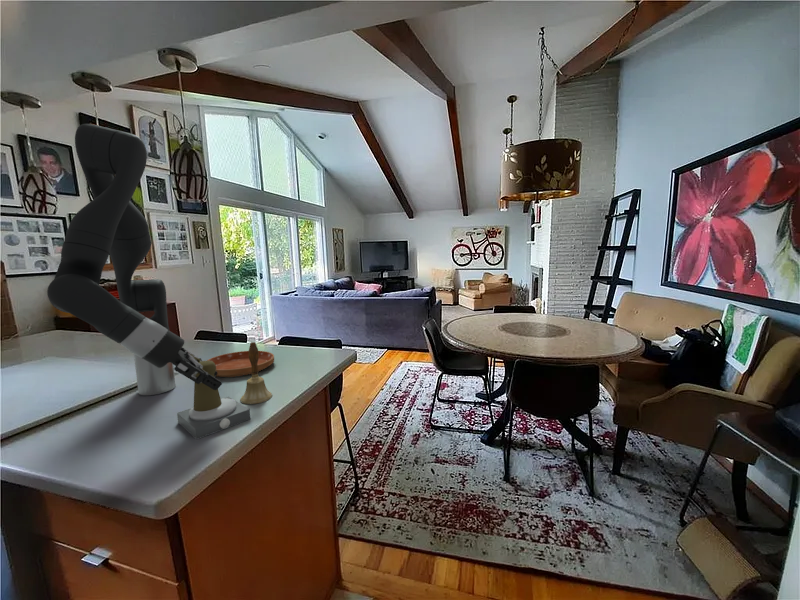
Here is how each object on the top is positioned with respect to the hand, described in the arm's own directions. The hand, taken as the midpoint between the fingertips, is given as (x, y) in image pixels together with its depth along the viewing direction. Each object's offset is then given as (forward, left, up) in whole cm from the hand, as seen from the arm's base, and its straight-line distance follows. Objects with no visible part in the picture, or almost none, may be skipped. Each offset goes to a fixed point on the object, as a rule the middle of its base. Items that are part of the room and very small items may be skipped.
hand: (217, 381), depth 83 cm
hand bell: (-5, +12, -10) cm, 16 cm away
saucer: (-35, +21, -10) cm, 42 cm away
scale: (0, -1, -10) cm, 10 cm away
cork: (-2, -2, -6) cm, 7 cm away
